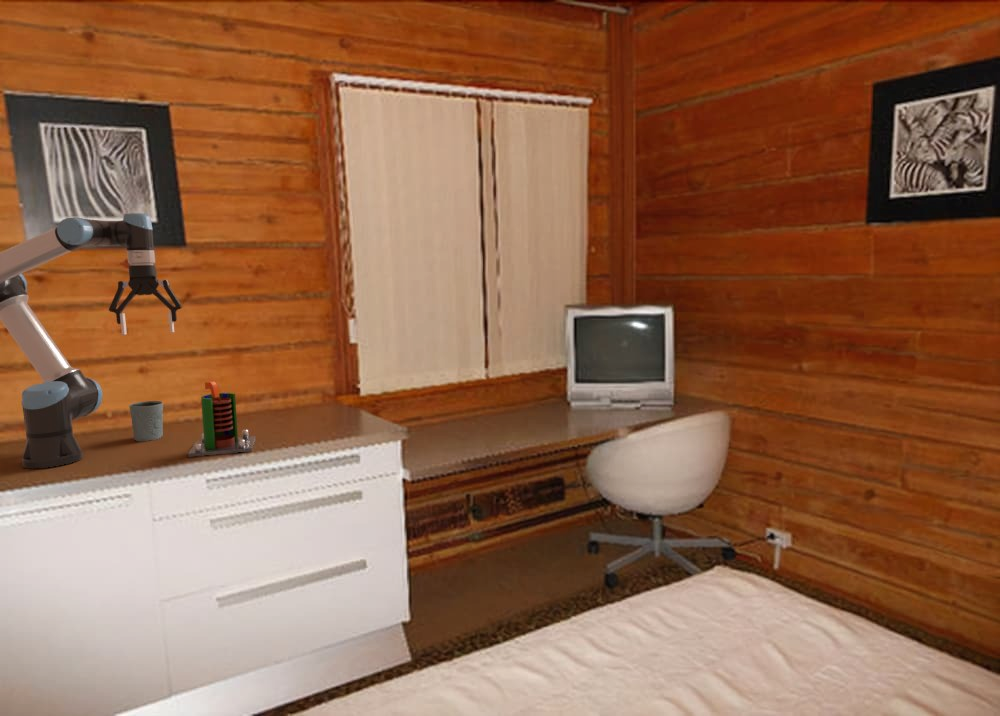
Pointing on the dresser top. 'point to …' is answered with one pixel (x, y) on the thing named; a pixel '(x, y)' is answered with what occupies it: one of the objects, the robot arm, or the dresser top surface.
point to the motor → (219, 418)
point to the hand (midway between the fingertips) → (148, 333)
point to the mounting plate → (241, 446)
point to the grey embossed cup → (147, 420)
